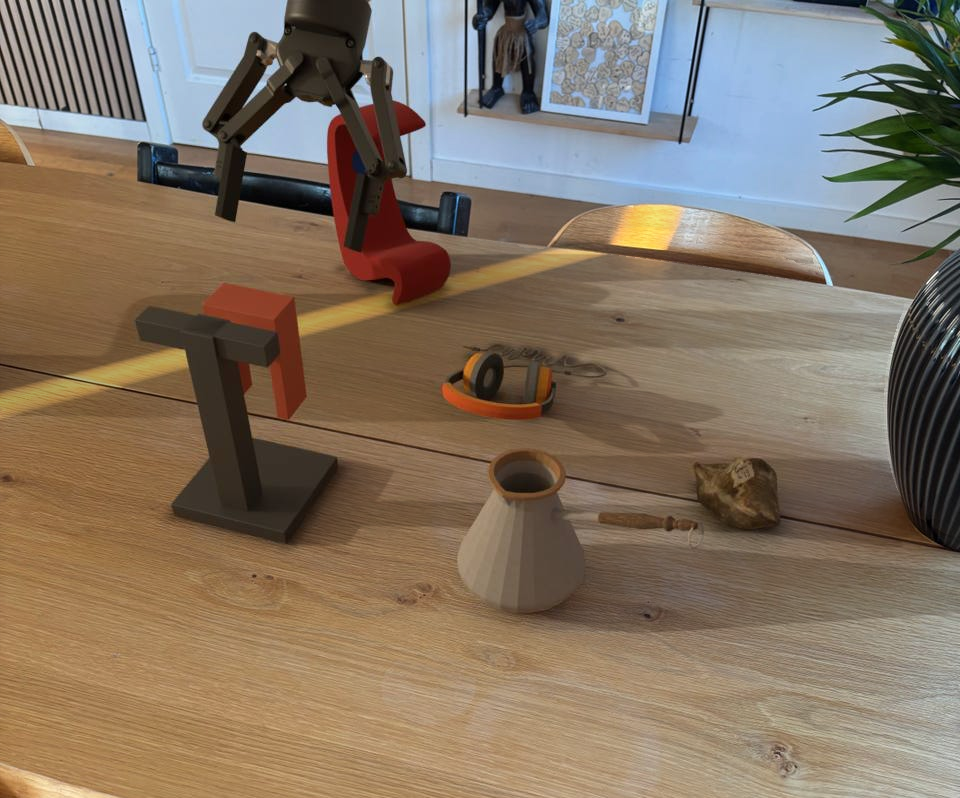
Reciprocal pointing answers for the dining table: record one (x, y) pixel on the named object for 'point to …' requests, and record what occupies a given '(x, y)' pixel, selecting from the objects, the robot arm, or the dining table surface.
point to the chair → (381, 216)
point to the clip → (268, 315)
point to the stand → (236, 432)
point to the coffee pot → (534, 535)
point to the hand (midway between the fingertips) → (287, 234)
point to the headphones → (486, 380)
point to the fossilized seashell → (739, 492)
